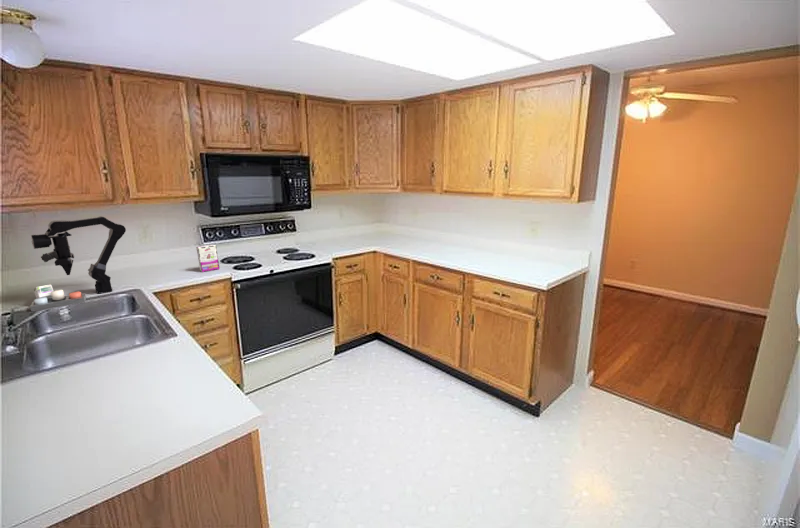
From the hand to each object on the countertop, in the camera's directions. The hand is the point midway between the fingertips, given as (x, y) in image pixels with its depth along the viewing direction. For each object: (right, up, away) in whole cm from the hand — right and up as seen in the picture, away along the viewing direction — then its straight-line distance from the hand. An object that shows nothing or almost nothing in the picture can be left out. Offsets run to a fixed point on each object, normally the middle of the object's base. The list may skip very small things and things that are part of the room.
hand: (68, 275), depth 195 cm
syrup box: (-15, -10, +2) cm, 18 cm away
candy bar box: (+46, +1, +54) cm, 71 cm away
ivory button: (+1, -12, -7) cm, 14 cm away
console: (+1, -14, -6) cm, 16 cm away
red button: (+6, -13, -2) cm, 15 cm away
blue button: (-4, -15, -10) cm, 19 cm away
